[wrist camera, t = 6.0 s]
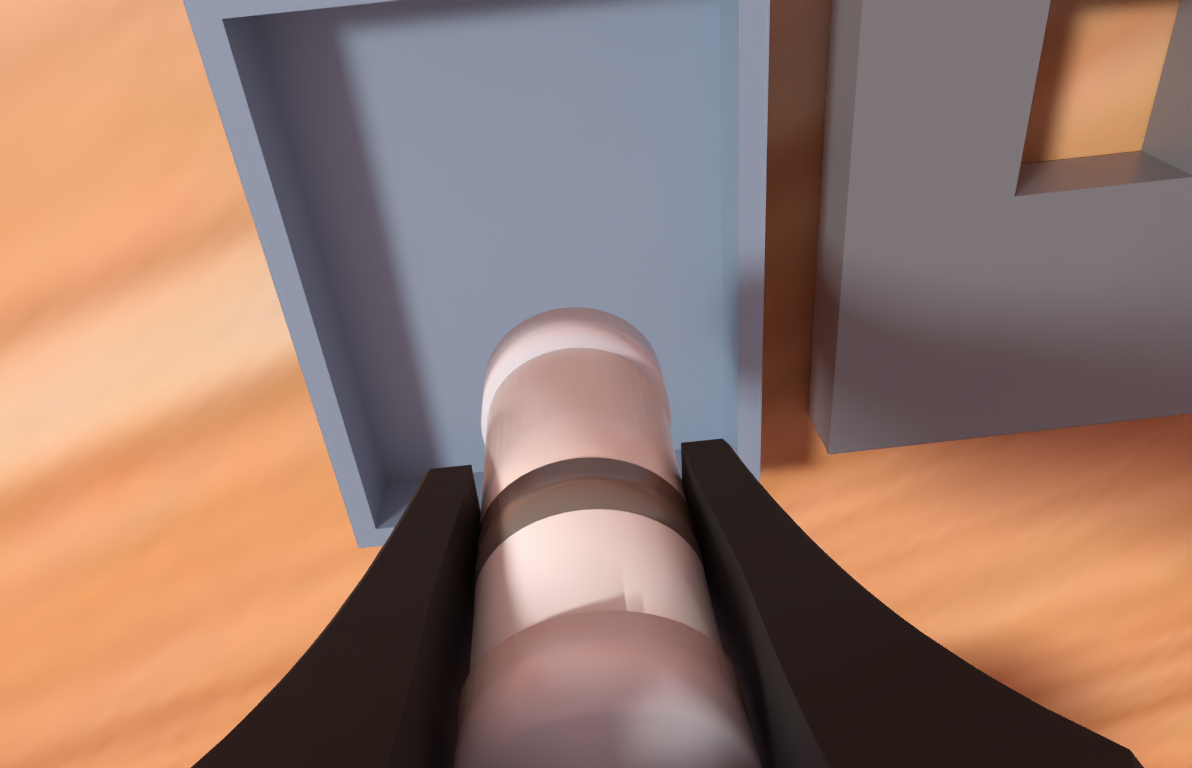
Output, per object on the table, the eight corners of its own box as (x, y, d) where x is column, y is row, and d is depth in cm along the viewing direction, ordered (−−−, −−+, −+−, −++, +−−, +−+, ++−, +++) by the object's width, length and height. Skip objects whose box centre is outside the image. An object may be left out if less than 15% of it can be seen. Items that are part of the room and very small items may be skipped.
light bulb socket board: (1278, 360, 25) (1339, 401, 23) (807, 413, 25) (830, 458, 23) (1562, -346, 16) (1694, -370, 15) (846, -272, 16) (888, -288, 14)
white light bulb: (664, 448, 16) (761, 877, 9) (497, 465, 16) (476, 908, 9) (658, 298, 14) (771, 693, 8) (471, 317, 14) (422, 730, 8)
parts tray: (740, 448, 25) (759, 502, 23) (373, 489, 25) (358, 547, 23) (742, -84, 18) (771, -76, 16) (219, -29, 18) (178, -13, 16)
